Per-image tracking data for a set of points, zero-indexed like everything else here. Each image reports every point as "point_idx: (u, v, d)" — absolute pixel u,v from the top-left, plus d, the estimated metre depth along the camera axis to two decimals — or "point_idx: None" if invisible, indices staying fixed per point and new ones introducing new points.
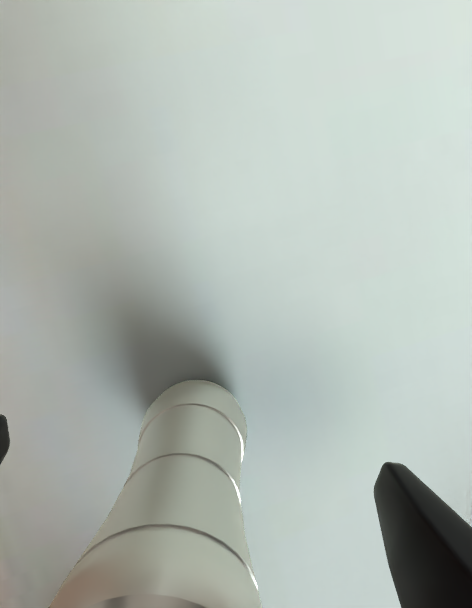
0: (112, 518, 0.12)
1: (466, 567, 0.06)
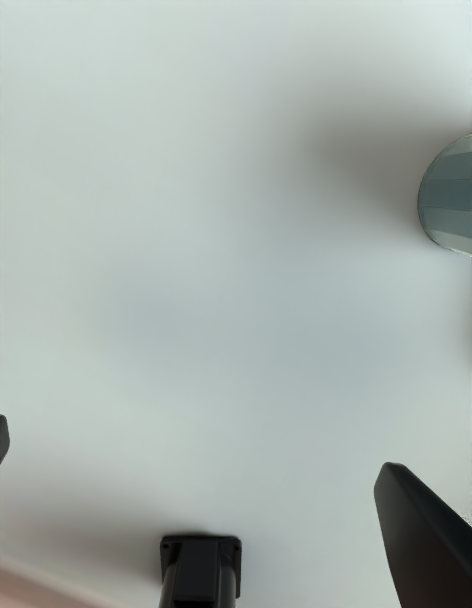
0: None
1: (466, 567, 0.06)
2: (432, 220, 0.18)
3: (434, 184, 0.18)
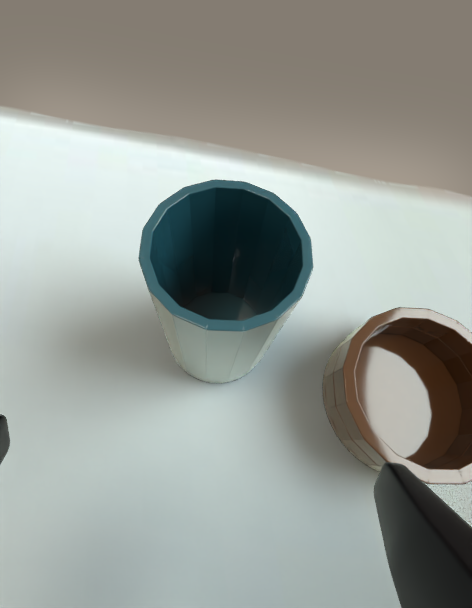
0: None
1: (466, 567, 0.06)
2: (181, 364, 0.21)
3: None
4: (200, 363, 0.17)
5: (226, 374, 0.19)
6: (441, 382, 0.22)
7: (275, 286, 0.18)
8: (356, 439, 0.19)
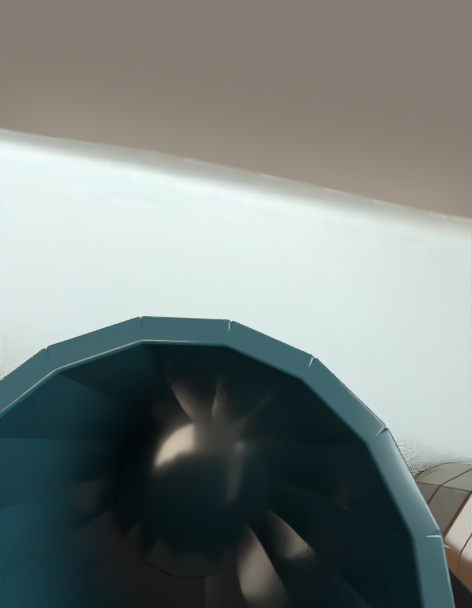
0: None
1: None
2: None
3: None
4: None
5: None
6: None
7: (300, 478, 0.09)
8: None
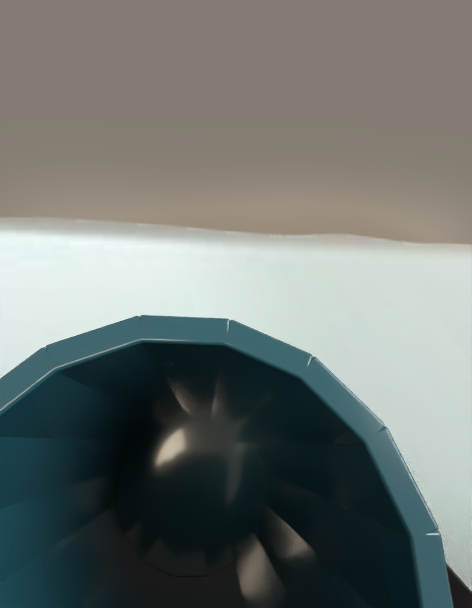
0: None
1: None
2: None
3: None
4: None
5: None
6: None
7: (299, 478, 0.09)
8: None
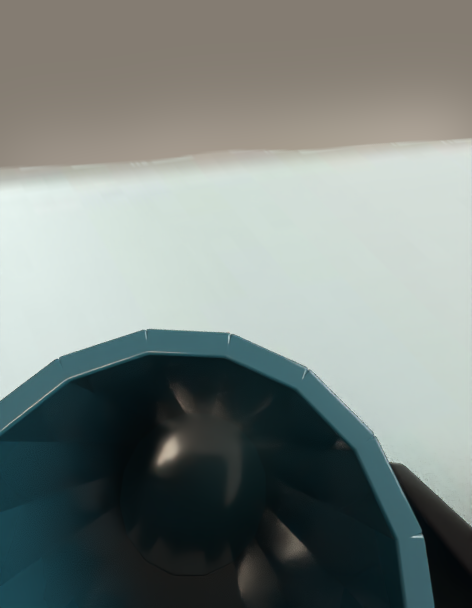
0: None
1: (466, 567, 0.06)
2: None
3: None
4: None
5: None
6: None
7: (296, 481, 0.09)
8: None
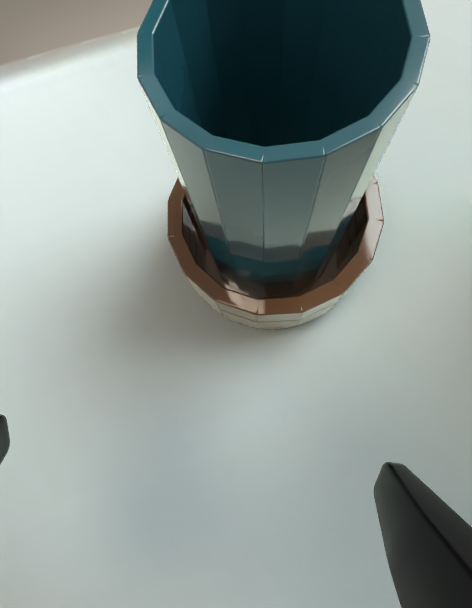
0: None
1: (466, 567, 0.06)
2: (230, 278, 0.16)
3: (208, 249, 0.17)
4: (255, 261, 0.13)
5: (290, 278, 0.14)
6: None
7: None
8: (219, 306, 0.15)
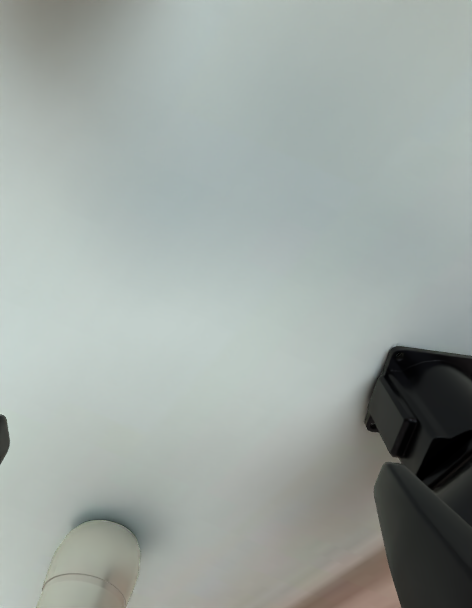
0: None
1: (466, 567, 0.06)
2: None
3: None
4: None
5: None
6: None
7: None
8: None
